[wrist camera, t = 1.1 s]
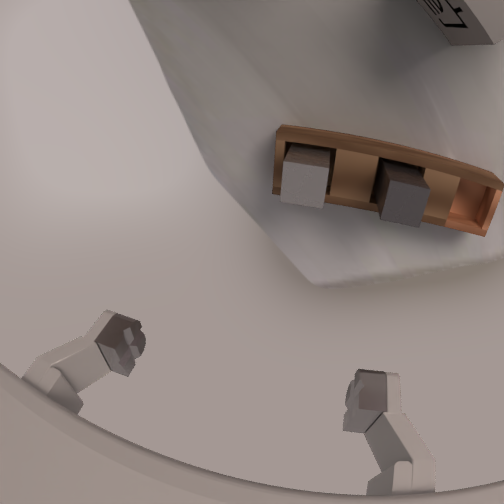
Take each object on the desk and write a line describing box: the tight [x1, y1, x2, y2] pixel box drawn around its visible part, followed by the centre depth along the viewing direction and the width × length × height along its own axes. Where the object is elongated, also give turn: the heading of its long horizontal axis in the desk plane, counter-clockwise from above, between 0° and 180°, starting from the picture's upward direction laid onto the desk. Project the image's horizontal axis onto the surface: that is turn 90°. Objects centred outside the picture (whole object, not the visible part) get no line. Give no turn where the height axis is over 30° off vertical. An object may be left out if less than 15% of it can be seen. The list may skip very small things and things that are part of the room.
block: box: [373, 157, 431, 227], centre depth 28 cm, size 4×4×7 cm
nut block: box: [280, 142, 330, 209], centre depth 29 cm, size 4×4×7 cm
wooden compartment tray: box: [272, 125, 504, 237], centre depth 30 cm, size 7×26×4 cm, turn 88°
